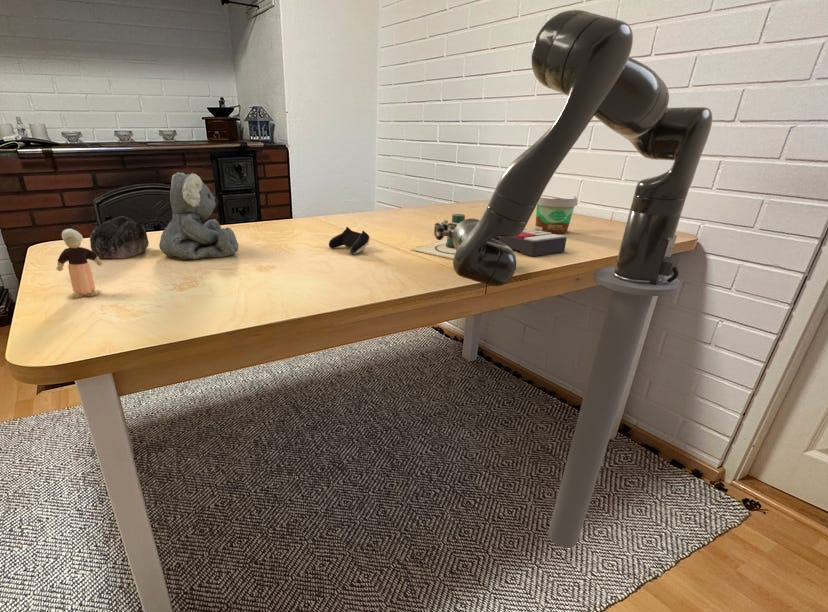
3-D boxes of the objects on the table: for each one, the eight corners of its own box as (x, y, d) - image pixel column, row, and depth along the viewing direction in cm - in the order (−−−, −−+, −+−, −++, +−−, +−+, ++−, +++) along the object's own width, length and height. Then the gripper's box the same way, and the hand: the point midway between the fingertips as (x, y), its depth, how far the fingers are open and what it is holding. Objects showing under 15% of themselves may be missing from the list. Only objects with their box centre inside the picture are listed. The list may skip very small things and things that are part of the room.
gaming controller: (361, 262, 119) (376, 240, 120) (352, 251, 116) (367, 229, 116) (335, 254, 126) (349, 233, 127) (325, 244, 123) (340, 222, 124)
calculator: (524, 226, 130) (568, 234, 117) (522, 242, 131) (565, 251, 119) (493, 230, 125) (535, 238, 113) (491, 246, 127) (532, 256, 115)
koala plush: (242, 256, 117) (233, 172, 108) (168, 266, 109) (151, 176, 100) (223, 242, 130) (213, 166, 121) (155, 250, 122) (139, 170, 113)
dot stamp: (469, 246, 123) (473, 215, 120) (458, 249, 120) (461, 217, 116) (453, 243, 127) (456, 212, 123) (441, 246, 123) (444, 215, 120)
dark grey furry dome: (88, 254, 121) (75, 216, 116) (141, 242, 128) (131, 205, 123) (101, 269, 113) (87, 229, 107) (157, 256, 119) (146, 217, 114)
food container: (539, 235, 136) (545, 199, 131) (530, 231, 142) (536, 196, 137) (579, 234, 137) (587, 199, 132) (569, 230, 142) (576, 196, 138)
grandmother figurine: (67, 301, 88) (47, 233, 82) (64, 295, 91) (44, 229, 85) (111, 293, 92) (94, 227, 86) (107, 288, 95) (91, 224, 89)
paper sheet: (499, 250, 121) (499, 248, 121) (465, 261, 111) (465, 260, 111) (448, 240, 131) (448, 238, 131) (412, 250, 121) (412, 248, 121)
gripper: (436, 258, 99) (432, 240, 113) (505, 259, 98) (492, 241, 112) (439, 221, 95) (434, 208, 110) (510, 222, 94) (496, 209, 108)
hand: (463, 225), depth 111 cm, fingers open, 8 cm apart
